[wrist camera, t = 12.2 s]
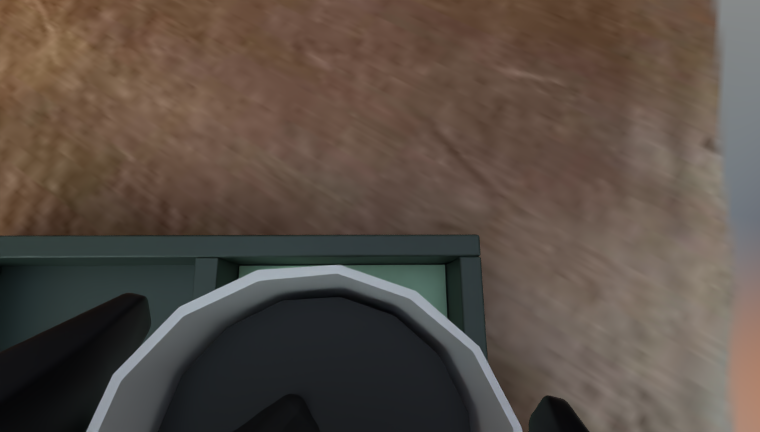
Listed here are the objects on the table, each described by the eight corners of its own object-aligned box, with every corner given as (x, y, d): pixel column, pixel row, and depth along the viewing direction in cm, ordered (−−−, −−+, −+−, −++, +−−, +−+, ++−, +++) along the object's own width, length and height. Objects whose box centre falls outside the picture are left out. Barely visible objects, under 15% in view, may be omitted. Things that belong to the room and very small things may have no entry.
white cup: (320, 518, 14) (233, 958, 5) (218, 363, 15) (-29, 455, 6) (461, 395, 15) (630, 538, 6) (357, 258, 17) (351, 183, 7)
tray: (475, 510, 15) (502, 557, 12) (-61, 528, 14) (-169, 584, 11) (460, 246, 18) (479, 234, 15) (-3, 248, 17) (-81, 235, 14)
